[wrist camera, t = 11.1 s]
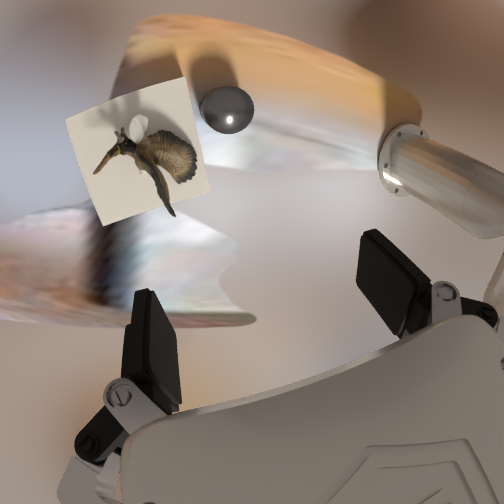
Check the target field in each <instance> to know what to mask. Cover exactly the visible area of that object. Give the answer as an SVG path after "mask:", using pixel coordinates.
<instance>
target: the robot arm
mask: <svg viewBox="0 0 504 504" xmlns="http://www.w3.org/2000/svg"><path fill="white" fill-rule="evenodd" d="M379 175H380V179H381V181H382V184H383V185H384V187H385V188H386V189H387V190H388V191H389V192H390V193H392V194H394V195H396V196H400V197H401V196H402V197H403V196H408V195H410V194H412V195H413V196H415V197H417V198H418V199H420V200H421V201H423V202H425V203H426V204H428V205H429V206H431V207H432V208H434V209H435V210H437V211H438V212H440V213H441V214H443V215H444V216H446V217H447V218H449V219H450V220H452V221H453V222H454V223H456V224H457V225H459V226H460V227H461V228H463V229H464V230H466V231H467V232H469V233H470V234H471V235H473V236H474V237H477V238H479V239H492V238H496V237H500V236H504V173H502V172H500V171H498V170H496V169H495V168H493V167H491V166H488V165H487V164H485V163H483V162H480V161H479V160H476V159H474V158H472V157H470V156H468V155H466V154H464V153H462V152H459V151H457V150H455V149H452V148H450V147H447V146H445V145H443V144H440V143H438V142H435V141H432V140H430V139H429V137H428V135H427V133H426V132H425V131H424V130H423V129H422V128H421V127H419V126H417V125H414V124H410V123H404V124H401V125H399V126H397V127H396V128H394V129H393V130H392V131H391V132H390V133H389V135H388V136H387V138H386V139H385V141H384V143H383V146H382V149H381V152H380V157H379ZM430 281H431V280H430V279H429V278H428V277H427V276H426V275H425V274H424V273H423V272H422V271H421V270H420V269H419V268H418V267H417V266H416V265H415V264H414V263H413V262H412V261H411V260H410V259H409V258H408V257H407V256H406V255H405V254H404V253H402V251H400V250H399V249H398V248H397V247H396V246H395V245H394V244H393V243H392V242H391V241H390V240H388V239H387V238H386V237H385V236H384V235H383V234H382V233H380V232H379V231H378V230H377V229H371V230H368V231H365V232H364V233H363V235H362V236H361V239H360V249H359V259H358V268H357V275H356V283H357V286H358V287H359V289H360V290H361V291H362V293H363V294H364V295H365V296H366V298H367V299H368V300H369V302H370V303H371V304H372V306H373V307H374V308H375V310H376V311H377V312H378V314H379V315H380V316H381V318H382V319H383V320H384V322H385V323H386V325H387V326H388V327H389V329H390V330H391V332H392V333H393V334H394V335H397V336H398V337H399V339H400V340H399V341H397V342H394V343H392V344H390V345H388V346H386V347H384V348H382V349H380V350H377V351H375V352H373V353H371V354H368V355H366V356H364V357H361V358H359V359H357V360H354V361H352V362H349V363H347V364H344V365H342V366H339V367H337V368H334V369H332V370H329V371H326V372H324V373H321V374H318V375H316V376H313V377H310V378H307V379H304V380H301V381H298V382H295V383H292V384H289V385H285V386H282V387H279V388H276V389H272V390H269V391H265V392H262V393H258V394H255V395H251V396H247V397H243V398H240V399H235V400H231V401H228V402H223V403H219V404H215V405H210V406H205V407H201V408H196V409H192V410H187V411H183V412H179V413H175V414H172V412H177V411H179V406H178V404H182V397H181V388H180V378H179V366H178V354H177V339H176V334H175V331H174V329H173V327H172V325H171V323H170V322H169V320H168V318H167V316H166V314H165V312H164V310H163V308H162V306H161V304H160V302H159V300H158V298H157V296H156V294H155V292H154V291H153V290H152V291H150V290H149V289H148V288H146V289H142V290H138V291H135V294H134V302H133V309H132V318H131V324H128V325H127V326H126V328H125V335H124V344H123V355H122V368H121V378H118V379H115V380H113V381H112V382H110V383H109V384H108V385H107V386H106V388H105V390H104V394H103V401H104V404H105V405H104V407H103V408H102V409H101V410H100V411H99V412H98V413H97V414H96V415H95V416H94V417H93V418H92V419H91V420H90V422H89V423H88V424H87V425H86V426H85V427H84V428H83V429H82V430H81V431H80V432H79V433H78V435H77V436H76V439H75V445H74V447H75V451H76V455H75V457H73V456H72V457H71V459H70V461H69V463H68V465H67V468H66V470H65V472H64V474H63V477H62V479H61V481H60V483H59V486H58V489H57V496H58V499H59V501H60V502H61V503H62V504H122V503H123V504H504V252H503V254H502V257H501V259H500V261H499V263H498V265H497V268H496V270H495V272H494V274H493V276H492V278H491V280H490V282H489V284H488V287H487V288H486V291H485V293H484V297H483V302H480V301H476V300H472V299H468V298H464V297H460V293H459V291H458V289H457V288H456V287H455V286H454V285H453V284H451V283H449V282H446V281H438V282H436V283H434V284H433V285H432V284H431V283H430ZM119 473H120V485H121V495H122V503H121V502H120V501H118V499H117V497H116V495H115V487H116V484H117V482H118V481H117V480H116V478H117V476H118V474H119Z"/></svg>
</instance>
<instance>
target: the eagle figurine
mask: <svg viewBox="0 0 504 504" xmlns="http://www.w3.org/2000/svg"><path fill="white" fill-rule="evenodd" d="M147 127H148V118H147V117H146V116H144V115H142V114H138V115H135V116H134V117H133V118H132V119H131V121H130V124H129V128H128V135H129V138H130V139H128V137H127V136H126V134H124V132H125V129H124V127H122V128H121V133H119V132H118V131H114V134H115V135H116V136H117V143H116V144H115V145H114V146H113V147H112V148H111V149H110V150H109V151H108V152H107V153H106V155H105V157H104V158H103V159H102V161H101V162H100V164H99V165H98V166H97V168H96V169H95V170H94V172H93V175H95V174H97V173H98V172H100V171H101V170H102V168H103V167H104V166H105V165H106V164H107V163H108V161H109V160H110V159H111V158H114V157H116V156H117V155H119V154H121V155H129V156H131V157H132V158H134V160H135V164H136V166H137V167H138V169H139V171H140V174H142V175H144V174H145V173H146V172H147V173H148V174H149V175H150V176H151V177H152V179H153V180H154V182H155V186H156V187H157V194H158V195H159V198H160V199H162V202H163V203H164V205H165V207H166V208H167V210H168V211H169V213H170V214H171V215H172V216H174V217H176V215H175V213H174V210H173V209H172V207H171V206H170V196H169V189H168V185H167V183H166V180H165V178H164V176H163V174H162V172H161V171H160V169H159V168H158V166H161V167H162V168H164V169H165V170H166V171H167V172H169V173H170V174H171V176H172V178H173V179H174V180H175V182H176V183H177V184H181V183H186V182H187V180H192V177H193V176H195V174H196V173H195V170H197V165H196V164H195V163H196V162H197V159H196V157H197V154H196V151H195V150H194V148H193V147H192V146H191V144H188V143H187V142H186V141H185V140H182V139H181V138H179V137H178V136H175V134H174V133H172V132H170V131H164V130H158V132H157V133H154V134H153V135H152V134H150V135H149V136H148V135H147ZM157 165H158V166H157Z"/></svg>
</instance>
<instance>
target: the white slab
mask: <svg viewBox="0 0 504 504" xmlns="http://www.w3.org/2000/svg"><path fill="white" fill-rule="evenodd" d="M138 114H142V115H144V116H146V117H147V118H148V127H147V135H148V136H149V135H150V134H152V135H153V134H154V133H157V132H158V130H164V131H170V132H172V133H174V134H175V136H178V137H179V138H181V139H182V140H185V141H186V142H187V143H188V144H191V146H192V147H193V148H194V150H195V151H196V154H197V157H196V159H197V162H196V163H195V164H196V165H197V170H195V173H196V174H195V176H193V177H192V180H187V182H186V183H181V184H177V183H176V182H175V180H174V179H173V178H172V176H171V174H170V173H169V172H167V171H166V170H165V169H164V168H162V167H161V166H158V165H157V166H158V168H159V169H160V171H161V172H162V174H163V176H164V178H165V180H166V183H167V185H168V189H169V196H170V204H171V203H174V202H177V201H181V200H183V199H187V198H191V197H194V196H197V195H201V194H205V193H208V192H211V189H210V185H209V181H208V177H207V172H206V168H205V164H204V160H203V155H202V151H201V147H200V142H199V138H198V133H197V129H196V124H195V120H194V115H193V110H192V106H191V101H190V96H189V92H188V87H187V82H186V77H181V78H177V79H174V80H170V81H166V82H162V83H159V84H155V85H152V86H149V87H146V88H142V89H139V90H136V91H133V92H130V93H127V94H125V95H122V96H119V97H116V98H114V99H111V100H109V101H106V102H103V103H101V104H99V105H97V106H94V107H92V108H89V109H87V110H85V111H82V112H80V113H78V114H76V115H74V116H72V117H69V118H67V119H66V120H65V121H66V125H67V128H68V132H69V135H70V139H71V142H72V145H73V148H74V151H75V154H76V158H77V160H78V163H79V166H80V169H81V172H82V175H83V177H84V180H85V182H86V186H87V188H88V191H89V193H90V196H91V198H92V201H93V203H94V206H95V208H96V211H97V213H98V215H99V218H100V220H101V222H102V225H103V226H105V225H108V224H111V223H113V222H116V221H119V220H122V219H125V218H128V217H131V216H134V215H137V214H140V213H143V212H146V211H149V210H152V209H155V208H158V207H161V206H164V203H163V202H162V199H160V198H159V195H158V194H157V187H156V186H155V182H154V180H153V179H152V177H151V176H150V175H149V174H148V173H147V172H146V173H145V174H144V175H142V174H140V171H139V169H138V167H137V166H136V164H135V160H134V158H132V157H131V156H129V155H121V154H119V155H117V156H116V157H114V158H111V159H110V160H109V161H108V163H107V164H106V165H105V166H104V167H103V168H102V170H101V171H100V172H98V173H97V174H95V175H93V172H94V170H95V169H96V168H97V166H98V165H99V164H100V162H101V161H102V159H103V158H104V157H105V155H106V153H107V152H108V151H109V150H110V149H111V148H112V147H113V146H114V145H115V144H116V143H117V136H116V135H115V134H114V131H118V132H119V133H121V128H122V127H124V129H125V132H124V134H126V136H127V137H128V139H130V138H129V135H128V128H129V124H130V121H131V119H132V118H133V117H134V116H135V115H138Z"/></svg>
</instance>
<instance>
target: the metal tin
mask: <svg viewBox="0 0 504 504" xmlns="http://www.w3.org/2000/svg"><path fill="white" fill-rule="evenodd" d="M200 113H201V116H202V118H203V120H204V121H205V123H206V124H208V125H209V126H210V127H211V128H213V129H214V130H215V131H217V132H220V133H223V134H234V133H237V132H240V131H241V130H243V129H244V128H246V127H247V126H248V125H249V123H250V122H251V120H252V118H253V114H254V105H253V101H252V99H251V97H250V96H249V95H248V94H247V93H246V92H245V91H243V90H242V89H240V88H237V87H222V88H216V89H214V90H212V91H210V92H209V93H207V94H206V95H205V97H204V98H203V100H202V102H201V106H200Z"/></svg>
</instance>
